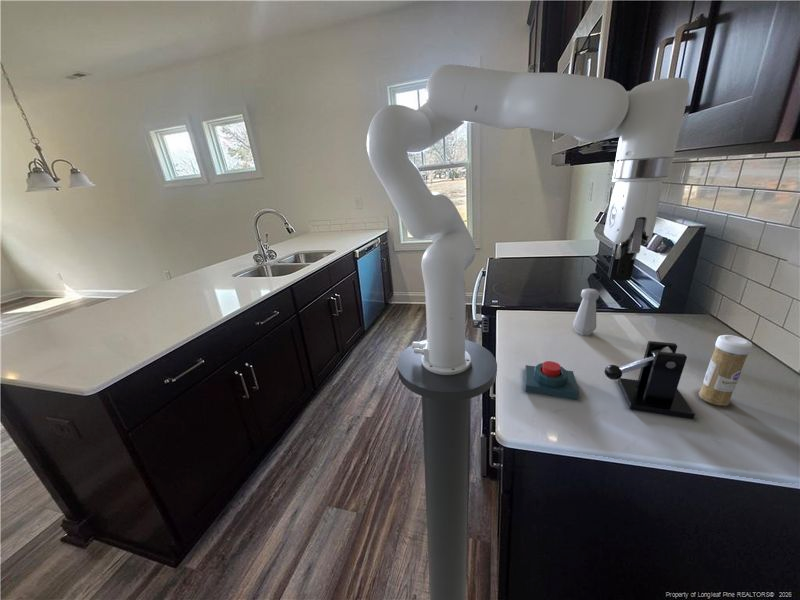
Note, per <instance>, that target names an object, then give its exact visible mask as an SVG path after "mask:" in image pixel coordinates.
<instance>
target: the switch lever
mask: <svg viewBox="0 0 800 600" xmlns="http://www.w3.org/2000/svg"><path fill="white" fill-rule="evenodd" d="M656 351H659V352H668V353H673V352H672V351H671V349H670V348H669V347H668V346H667V347H664V348H661V349H658V350H654V351H652V354H653V355H654V356H655V353H656ZM654 356H652V357H648V358H645V359H644V358H643V359H639V360H635V361H633V362H629V363H626V364H623V365H619V366H618V365H616V364H610V365H607V366H606V367H605V369H604V375H605V376H606V377H607V378H608V379H610V380H613V381H618V379H619V378H622V377H623V374H625V373H629V372H632V371H636V370H639V369H641V368H642V367H646V366H649V365H652V364H653V360H654Z"/></svg>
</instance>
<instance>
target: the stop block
mask: <svg viewBox="0 0 800 600" xmlns="http://www.w3.org/2000/svg"><path fill="white" fill-rule="evenodd" d="M543 363H544V362H541V363H537V365H529V364H526V365H524V366H525V367H524V387H525V390H524V391H525V392H526V393H533V394H537V395H545V396H551V397H557V398H558V397H559V398H565V399H572V400H578V398H579V390H578V389H579V388H578V386H577V382H576V378H575V374H574V371H573V370H568V369H567V370H566V368H564V367H563V366H561V371H560V375H559V376H558V377H551V376H547V375H545V374H543V372H542V366H543Z"/></svg>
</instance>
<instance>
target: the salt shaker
mask: <svg viewBox="0 0 800 600" xmlns="http://www.w3.org/2000/svg"><path fill="white" fill-rule="evenodd" d="M580 297H581V298H582V300H581V302H580V305H579V307H578V310H577V313H576V315H575V317H574V320H573V323H572V325H573V328H574V330H575V334H578V335H580V336H590V335H592V334H593V332H594V331H595V330H597V326H598V325H597V300H599V297H600V292H599V290H598V289H595V288H589V287H587V288H584V289H582V290H581V293H580Z"/></svg>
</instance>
